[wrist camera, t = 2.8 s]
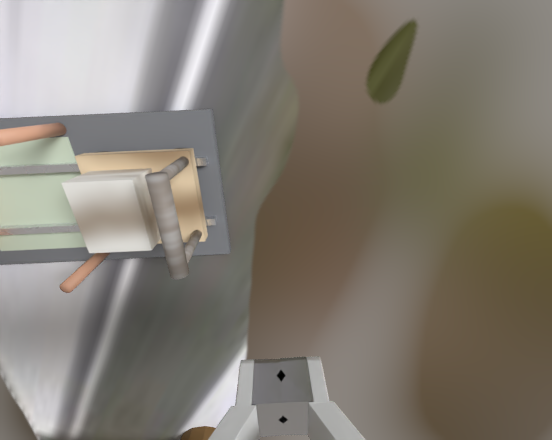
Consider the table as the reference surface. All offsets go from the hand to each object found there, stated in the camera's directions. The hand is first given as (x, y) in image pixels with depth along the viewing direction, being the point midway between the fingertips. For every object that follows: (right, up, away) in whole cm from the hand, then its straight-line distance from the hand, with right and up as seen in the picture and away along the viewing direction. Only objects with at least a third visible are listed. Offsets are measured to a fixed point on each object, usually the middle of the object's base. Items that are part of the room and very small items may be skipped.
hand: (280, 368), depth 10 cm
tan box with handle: (-14, +9, +20) cm, 25 cm away
